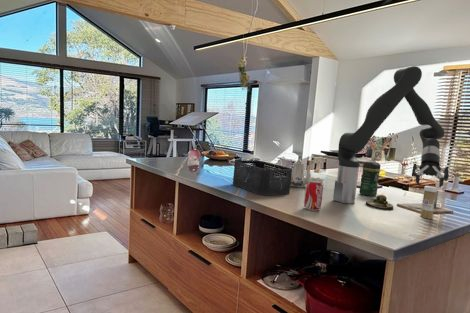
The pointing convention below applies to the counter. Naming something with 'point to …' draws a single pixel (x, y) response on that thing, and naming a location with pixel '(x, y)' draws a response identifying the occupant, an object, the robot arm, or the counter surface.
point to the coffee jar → (370, 178)
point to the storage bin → (262, 177)
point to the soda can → (313, 195)
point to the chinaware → (301, 175)
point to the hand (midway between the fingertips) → (429, 184)
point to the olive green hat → (380, 202)
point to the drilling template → (418, 206)
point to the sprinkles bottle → (428, 202)
